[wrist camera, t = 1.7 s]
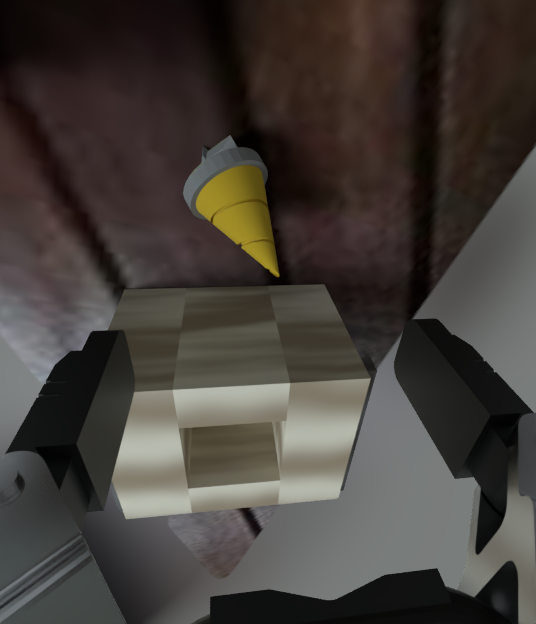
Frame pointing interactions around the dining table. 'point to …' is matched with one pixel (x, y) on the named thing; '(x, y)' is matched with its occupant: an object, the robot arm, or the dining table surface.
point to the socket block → (237, 399)
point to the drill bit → (234, 198)
